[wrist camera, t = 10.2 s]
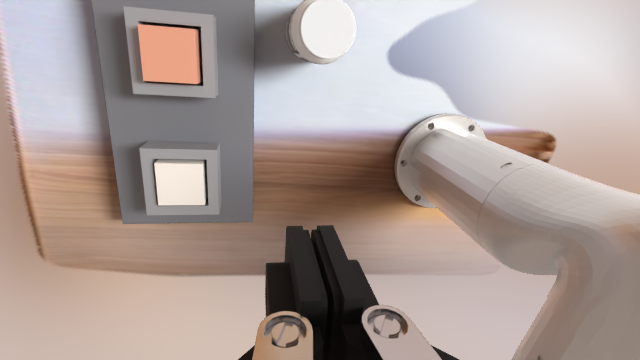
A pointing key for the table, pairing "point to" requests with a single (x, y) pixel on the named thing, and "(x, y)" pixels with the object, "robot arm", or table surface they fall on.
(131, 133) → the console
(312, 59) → the pill bottle
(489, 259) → the table surface
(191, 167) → the pale key
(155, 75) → the terracotta key
